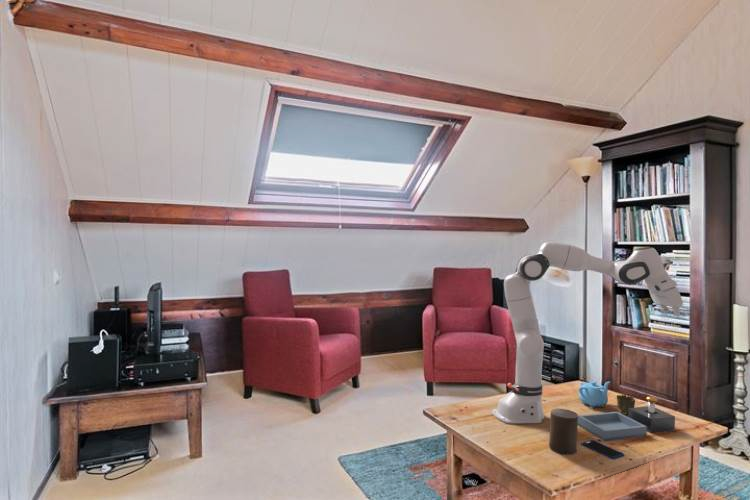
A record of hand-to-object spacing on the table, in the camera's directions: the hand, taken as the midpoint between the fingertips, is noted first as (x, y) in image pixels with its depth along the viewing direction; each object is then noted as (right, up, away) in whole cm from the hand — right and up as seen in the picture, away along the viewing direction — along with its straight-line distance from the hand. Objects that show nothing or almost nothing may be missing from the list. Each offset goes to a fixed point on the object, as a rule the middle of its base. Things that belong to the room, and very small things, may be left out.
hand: (672, 314), depth 193 cm
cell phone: (-38, -49, -17) cm, 64 cm away
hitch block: (-6, -48, +5) cm, 49 cm away
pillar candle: (-52, -49, -17) cm, 73 cm away
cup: (-10, -48, +17) cm, 52 cm away
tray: (-25, -48, 0) cm, 54 cm away
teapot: (-18, -47, +30) cm, 59 cm away
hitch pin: (-6, -48, +5) cm, 49 cm away
